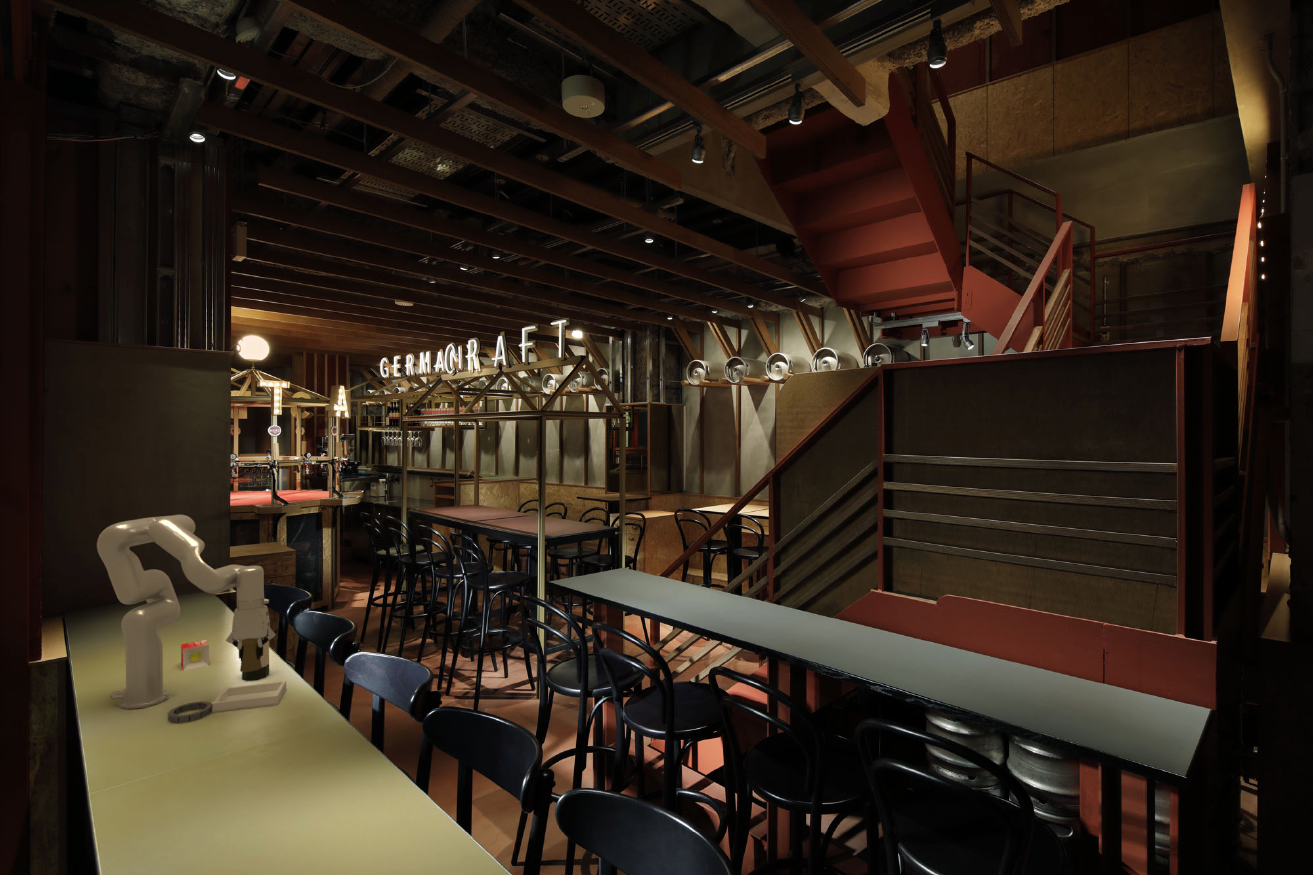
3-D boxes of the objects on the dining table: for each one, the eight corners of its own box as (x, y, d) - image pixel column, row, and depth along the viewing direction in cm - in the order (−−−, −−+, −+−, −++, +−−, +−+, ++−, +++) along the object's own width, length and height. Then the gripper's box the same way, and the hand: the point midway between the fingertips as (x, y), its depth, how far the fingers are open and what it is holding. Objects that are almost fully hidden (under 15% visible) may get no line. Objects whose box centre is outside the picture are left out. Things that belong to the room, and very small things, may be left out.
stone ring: (162, 725, 191) (162, 718, 191) (176, 710, 201) (176, 704, 201) (205, 719, 194) (205, 713, 194) (216, 705, 205) (216, 699, 205)
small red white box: (183, 670, 235) (183, 649, 235) (181, 664, 241) (181, 644, 241) (209, 665, 240) (209, 644, 240) (206, 659, 246) (206, 639, 246)
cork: (265, 664, 211) (265, 632, 211) (255, 671, 205) (255, 638, 205) (246, 665, 211) (246, 632, 211) (236, 672, 205) (235, 638, 205)
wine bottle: (256, 682, 224) (255, 598, 224) (236, 680, 226) (236, 596, 225) (274, 673, 232) (274, 592, 232) (255, 671, 234) (255, 591, 233)
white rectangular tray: (212, 712, 199) (212, 703, 199) (225, 696, 212) (225, 687, 212) (277, 704, 205) (277, 695, 205) (286, 689, 217) (286, 680, 217)
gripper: (281, 598, 214) (282, 652, 215) (224, 603, 209) (225, 658, 209) (276, 604, 207) (277, 659, 207) (217, 609, 202) (217, 666, 202)
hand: (251, 658), depth 208 cm, fingers closed on cork, 3 cm apart
